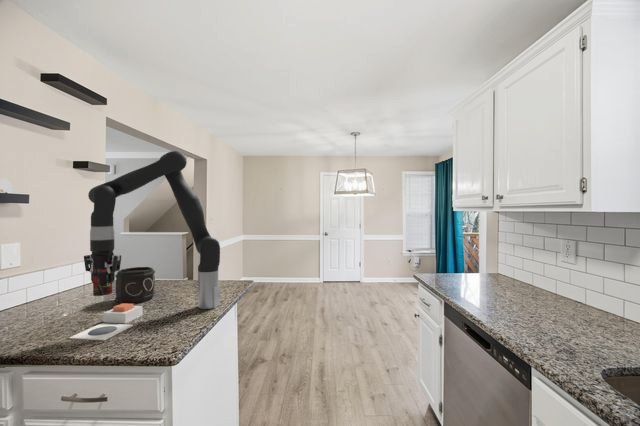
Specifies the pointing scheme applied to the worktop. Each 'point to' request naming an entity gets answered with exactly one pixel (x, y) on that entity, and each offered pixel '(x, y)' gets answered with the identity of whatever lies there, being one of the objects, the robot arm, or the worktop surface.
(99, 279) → the deodorant
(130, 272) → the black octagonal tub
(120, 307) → the button
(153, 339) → the worktop surface
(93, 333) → the white flat square slab
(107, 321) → the button housing
